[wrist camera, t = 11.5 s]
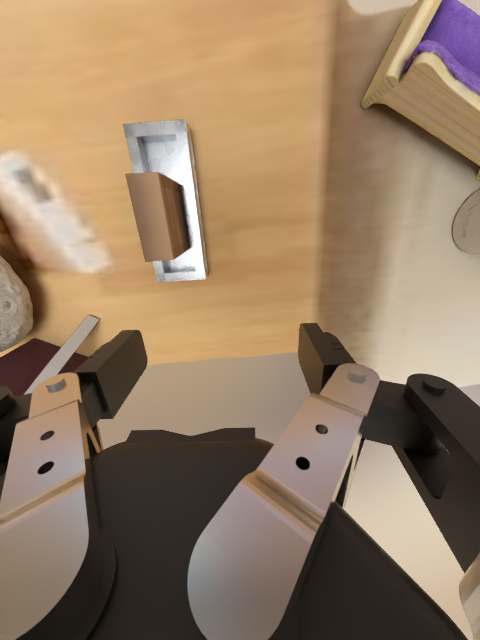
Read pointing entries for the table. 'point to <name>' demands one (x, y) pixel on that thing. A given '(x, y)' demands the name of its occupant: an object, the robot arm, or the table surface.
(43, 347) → the picture frame
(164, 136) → the tray
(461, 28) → the toy sofa
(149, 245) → the door panel
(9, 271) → the decorative shell
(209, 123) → the table surface
